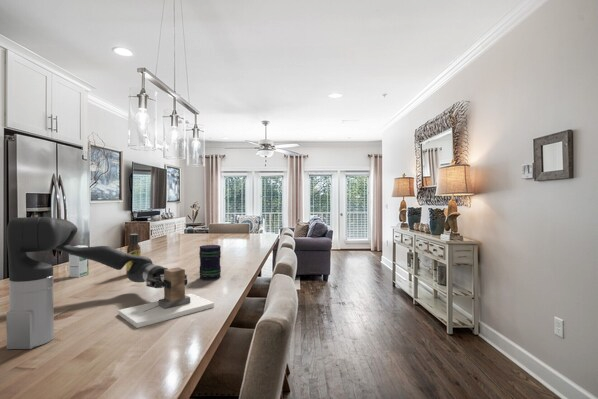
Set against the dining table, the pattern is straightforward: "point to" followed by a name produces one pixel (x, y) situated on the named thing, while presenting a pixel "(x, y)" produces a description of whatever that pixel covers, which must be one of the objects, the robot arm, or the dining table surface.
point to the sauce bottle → (133, 249)
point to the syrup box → (78, 265)
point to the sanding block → (174, 289)
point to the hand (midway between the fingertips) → (178, 284)
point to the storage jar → (210, 262)
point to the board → (162, 311)
